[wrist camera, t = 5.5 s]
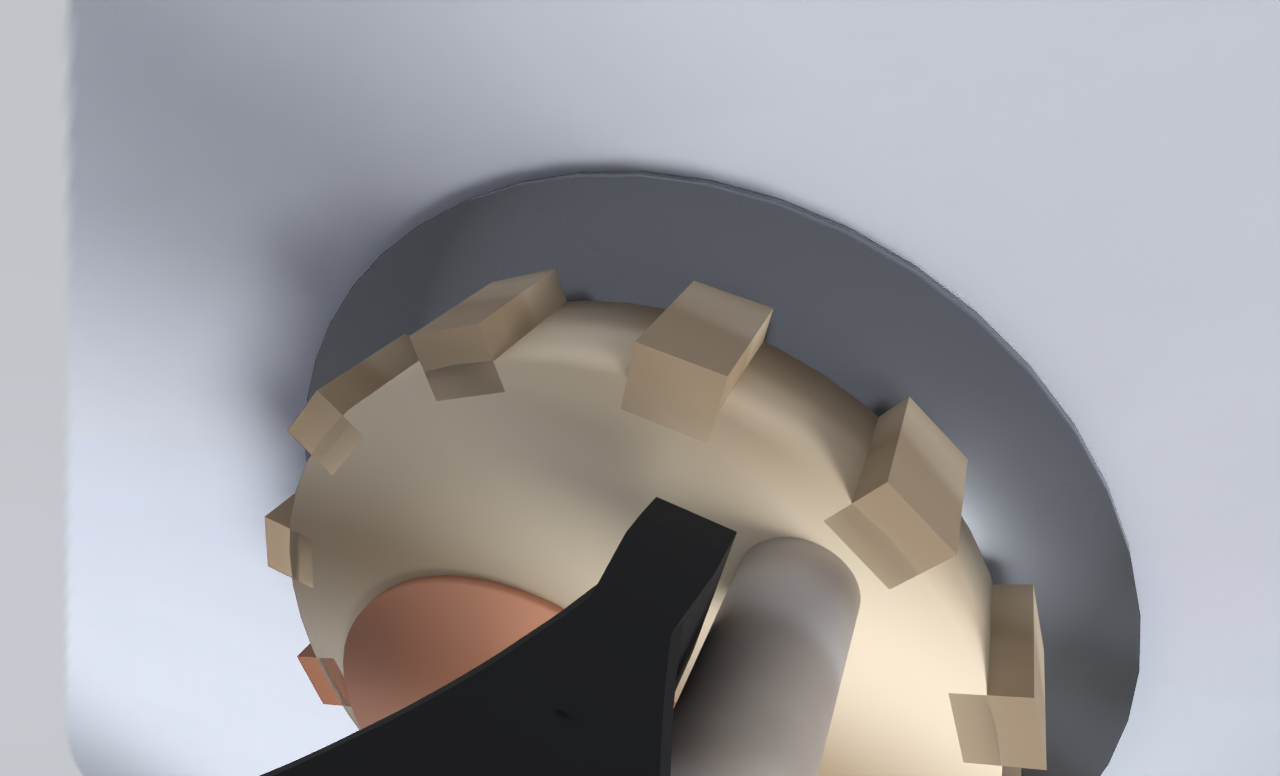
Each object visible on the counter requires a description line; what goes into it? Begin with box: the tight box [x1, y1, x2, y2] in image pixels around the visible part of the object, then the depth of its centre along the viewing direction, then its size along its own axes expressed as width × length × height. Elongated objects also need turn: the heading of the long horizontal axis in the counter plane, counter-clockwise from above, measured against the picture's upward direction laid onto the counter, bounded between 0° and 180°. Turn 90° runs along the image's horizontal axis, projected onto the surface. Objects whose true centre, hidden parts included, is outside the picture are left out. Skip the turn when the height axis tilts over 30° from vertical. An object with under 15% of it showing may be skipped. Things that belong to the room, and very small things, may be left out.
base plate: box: [306, 172, 1140, 776], centre depth 15 cm, size 16×16×2 cm
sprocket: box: [265, 269, 1047, 776], centre depth 13 cm, size 13×13×5 cm
